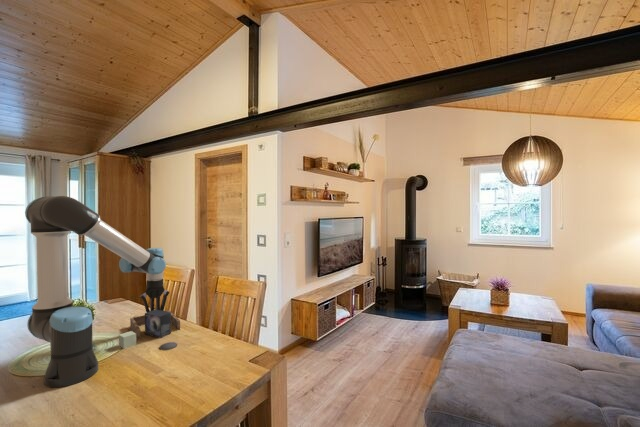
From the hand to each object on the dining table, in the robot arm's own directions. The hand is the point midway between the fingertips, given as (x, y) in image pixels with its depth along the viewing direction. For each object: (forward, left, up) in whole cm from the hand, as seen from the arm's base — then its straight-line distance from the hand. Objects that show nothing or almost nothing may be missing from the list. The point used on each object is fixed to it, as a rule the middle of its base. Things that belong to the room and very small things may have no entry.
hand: (155, 326), depth 151 cm
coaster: (-25, 0, -2) cm, 25 cm away
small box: (-7, 0, -2) cm, 8 cm away
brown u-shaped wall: (+2, 0, -2) cm, 2 cm away
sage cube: (-12, +13, -2) cm, 18 cm away
